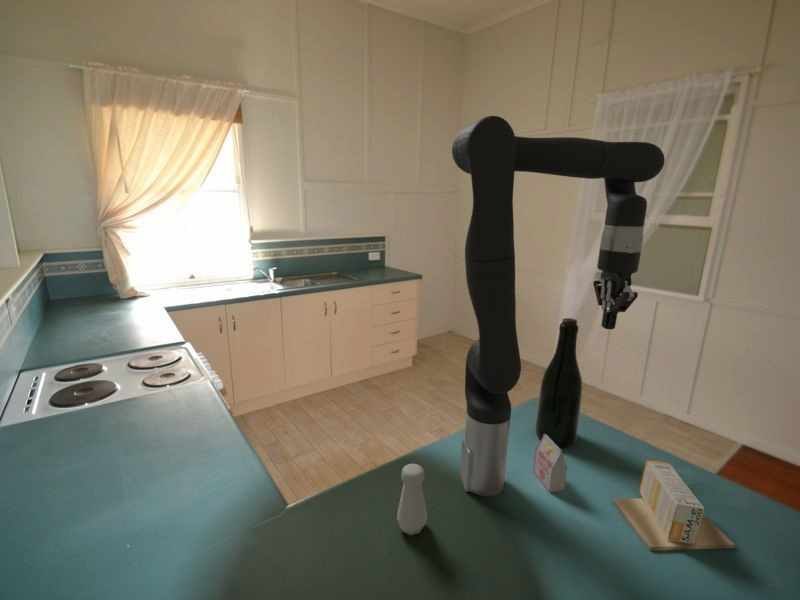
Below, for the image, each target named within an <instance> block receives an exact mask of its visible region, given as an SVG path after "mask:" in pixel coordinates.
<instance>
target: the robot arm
mask: <svg viewBox="0 0 800 600" xmlns="http://www.w3.org/2000/svg"><path fill="white" fill-rule="evenodd" d="M451 146H452V147H451V153H452V158H453V160H454V164H456V166H457V168H459V169H460V170H461V171H463V172H464V173H467V174H469V175H470V178H471V188H472V189H471V190H472V211H471V216H470V221H469V224H468V225H469V226H468V230H467V235H466V237H465V238H466V239H465V245H464V260H465V261H464V263H465V277H466V286H467V290H468V294H469V297H470V301H471V305H472V307H473V308H472V309H473V311H474V315H475V318H476V322H477V326H478V327H477V329H478V336H479V337H478V340H475V342H473V343H472V345H471V346H470V347H469V349H468V351H467V354H466V361H465V370H464V371H465V375H464V376H465V377H464V393H465V394H464V395H465V396H464V397H465V401H466V412H465V413H466V416H465V432H464V433H465V434H464V436H463V437H461V453H460V454H461V455H460V469H459V471H460V472H459V475H460V478H461V481H462V485H463V488H464V491H465V492H468V493H469V492H471V493H473V494H475V495H479V496H482V497H493V496H497V495H499V494H500V493H501V492H502V491H503V490H504V488H505V481H506V480H505V479H506V469H507V468H506V467H507V457H508V450H509V449H508V448H509V437H510V426H511V417H512V416H511V415H512V404H511V403H512V402H511V399H510V397H509V393H508V392H510V391H512V390H513V388H515V386H516V385H517V384H518V382H519V379H520V376H521V374H522V373H521V372H522V362H521V361H522V360H521V355H520V349H519V341H518V336H517V335H518V333H517V323H516V322H517V319H516V315H517V314H516V311H517V309H516V308H517V306H516V301H517V300H516V299H517V298H516V253H515V235H514V233H515V230H514V229H515V228H514V227H515V226H514V225H515V224H514V197H513V196H514V184H515V183H514V182H515V173H516V172H519V173H520V172H523V173H524V172H527V173H533V174H534V173H536V174H544V175H550V176H559V177H569V178H576V179H577V178H578V179H589V180H591V179H593V180H594V179H595V180H597V179H604V189H605V197H606V203H607V207H606V211H605V219H604V226H603V230H602V232H601V238H600V245H599V252H598V258H597V265H596V268H597V269H598V270H599V271H601V274H600V278H599V280H593V287H594V288H593V289H594V293H595V297H596V301H597V305H598V306H601V310H602V311H603V312H602V319H601V327H602V328H603V329H605V330H614V329H615V328H616V325H617V319H618V314H619V313H625V312H626V311H627V310H628V308H630V306H631V305H632V304H633V303H634V301H636V300H637V298H638V297H639V294H638V292H637V291H633V290H632V288H631V286H632V284H633V283H632V282H633V281H632V275H633V274H635V273H637V272H638V271H639V266H640V259H641V254H642V248H643V242H644V241H643V240H644V226H645V222H646V214H647V210H648V209H647V208H648V201H647V199H646V198H645V196H643V195H639V194H637V192H636V186H635V183H644V182H647V181H650V180H652V179H654V178H656V177H657V176H658V175H659V174H660V173H661V171H662V170H663V168H664V166H665V160H666V159H665V154H664V153H663V150H662V148H660V147H659V146H657V145H656V144H654V143H651V142H646V141H606V140H599V139H593V138H585V137H584V138H583V137H572V136H571V137H568V136H567V137H565V136H563V137H562V136H561V137H555V136H554V137H525V136H516V135H515V132H514V129H513V128H512V126H511V124H510V123H509V122H508V121H507V120H506V119H505V118H503V117H501V116H498V115H488V116H484V117H481V118H480V119H477V120H476V121H474V122H471V123H470V124H467V125H466V126H465V127H463V128H462V129H461V130H460V131H459V132H458V133H457V134H456V136H455V137H454V140H453V143H452V145H451Z"/></svg>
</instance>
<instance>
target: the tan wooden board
mask: <svg viewBox="0 0 800 600" xmlns="http://www.w3.org/2000/svg"><path fill="white" fill-rule="evenodd" d="M612 504H613V505H614V506H615V507H616V509H617V510H618V512H619V513H620V514H621V515H622V516H623V518H624V519H625V520H626V522H627V523H628V524H629V526H630V527H631V528H632V530H633V531H634V532H635V533H636V535H637V536H638V537H639V539H640V540H641V541H642V542H643V544H644V545H645V546H646V548H647V549H648V551H650V552H652V551H680V550H681V551H682V550H708V549H709V550H710V549H714V550H715V549H716V550H717V549H734V547H735V543H733V542H732V541H731V540H730V538H728V537H727V536H726V534H724V533H723V532H722V531H721V530H720V529H719V528H718V527H717V526H716V525H715V524H714V523H713V522H712V521H711V520H710V519H709V518H708V517H707V516H706V515H705V514H704V513H703V515H702V518H701V522H700V525H699V529H698V532H697V535H696V539H695V543H694V544H689V543H683V542H677V541H670V540H667V538H666V536H665V534H664V533H663V531H662V529H661V528H660V526H659V524H658V523H657V521H656V519H655V518H654V516H653V514H652V513H651V511H650V509H649V507H648V506H647V504H646V502H645V501H644V499H643V497H641V498H613V499H612Z"/></svg>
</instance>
